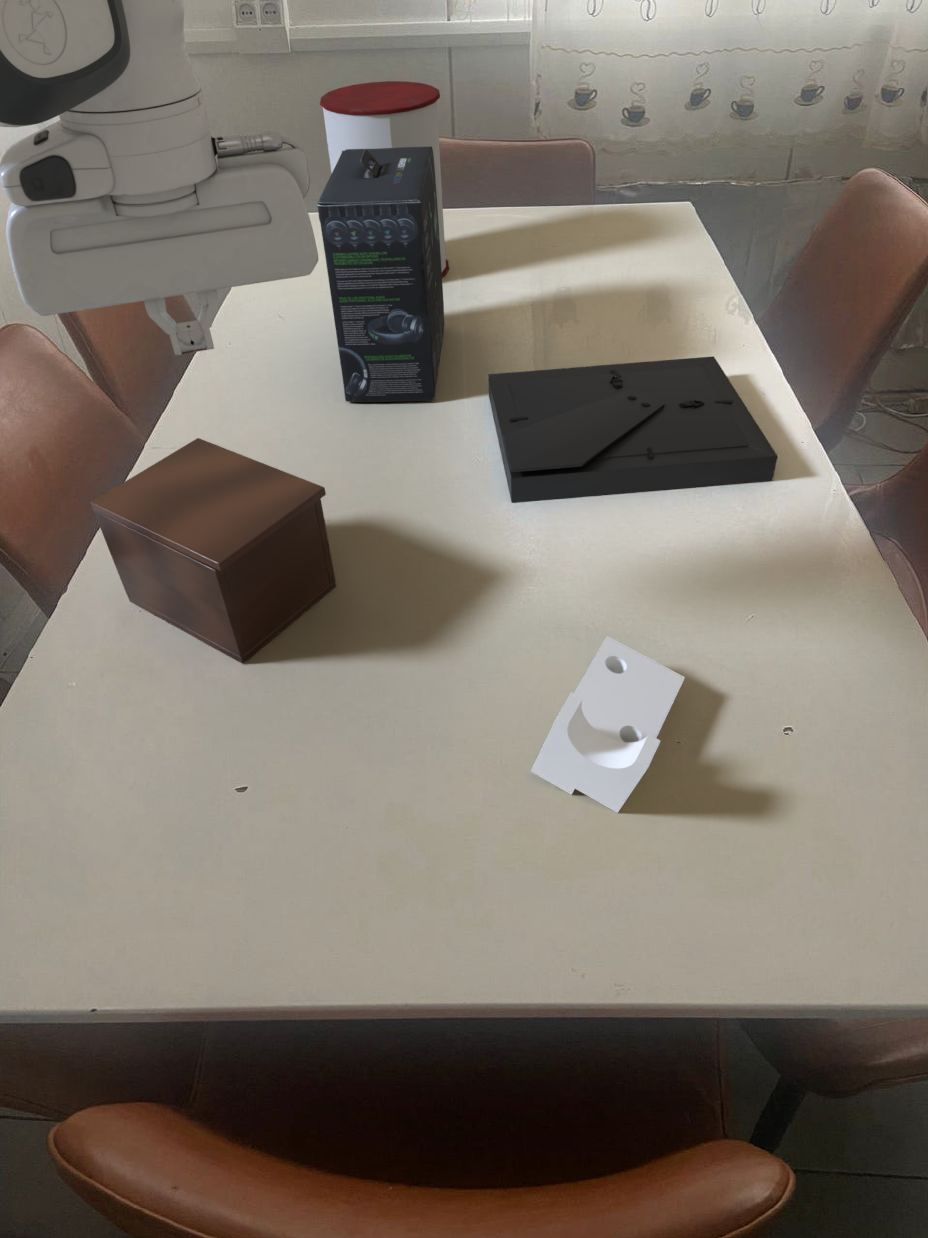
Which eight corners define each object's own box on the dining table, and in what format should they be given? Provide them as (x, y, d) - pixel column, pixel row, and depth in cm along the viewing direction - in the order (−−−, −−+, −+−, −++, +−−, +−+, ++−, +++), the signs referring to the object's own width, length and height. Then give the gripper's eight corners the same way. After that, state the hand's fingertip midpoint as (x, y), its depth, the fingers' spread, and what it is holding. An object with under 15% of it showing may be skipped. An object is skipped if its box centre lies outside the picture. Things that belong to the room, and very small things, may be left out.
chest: (336, 586, 86) (320, 494, 79) (243, 664, 79) (214, 570, 72) (225, 534, 93) (200, 445, 86) (129, 601, 86) (93, 510, 78)
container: (373, 245, 152) (355, 78, 136) (466, 256, 147) (459, 83, 130) (323, 283, 141) (296, 106, 124) (421, 297, 135) (407, 113, 119)
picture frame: (511, 502, 95) (772, 480, 96) (511, 469, 92) (780, 447, 93) (488, 396, 112) (710, 378, 113) (488, 365, 109) (715, 347, 110)
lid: (326, 494, 78) (325, 487, 78) (221, 571, 71) (218, 563, 70) (200, 444, 86) (197, 437, 85) (92, 509, 78) (89, 502, 78)
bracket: (613, 818, 66) (648, 767, 61) (530, 771, 68) (556, 716, 62) (669, 702, 75) (704, 647, 69) (594, 661, 76) (622, 604, 70)
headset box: (363, 327, 129) (339, 129, 111) (446, 325, 128) (434, 125, 111) (342, 405, 112) (310, 187, 95) (437, 403, 112) (422, 183, 94)
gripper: (294, 116, 61) (323, 310, 71) (-20, 152, 57) (54, 354, 67) (310, 138, 57) (339, 343, 66) (-29, 180, 53) (52, 392, 62)
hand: (194, 349), depth 66 cm, fingers closed
